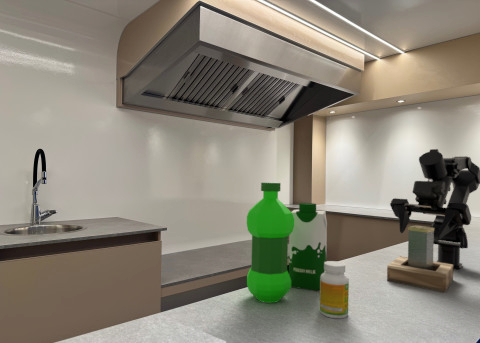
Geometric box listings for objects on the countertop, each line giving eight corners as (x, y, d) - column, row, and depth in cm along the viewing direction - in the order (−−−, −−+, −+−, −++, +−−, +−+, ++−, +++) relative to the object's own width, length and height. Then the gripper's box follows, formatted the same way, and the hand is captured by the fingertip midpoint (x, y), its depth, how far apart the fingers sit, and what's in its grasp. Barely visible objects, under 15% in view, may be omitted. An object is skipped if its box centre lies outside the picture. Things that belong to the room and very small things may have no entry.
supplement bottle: (349, 320, 62) (350, 268, 63) (319, 317, 64) (321, 266, 64) (346, 309, 68) (347, 261, 68) (319, 306, 69) (320, 259, 69)
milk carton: (285, 287, 80) (287, 203, 80) (292, 277, 88) (294, 200, 88) (323, 293, 77) (325, 205, 77) (327, 281, 85) (328, 202, 86)
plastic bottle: (300, 296, 74) (302, 183, 74) (275, 311, 66) (278, 183, 66) (262, 286, 80) (264, 181, 80) (235, 299, 72) (237, 182, 72)
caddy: (400, 270, 97) (400, 256, 97) (452, 279, 89) (453, 264, 89) (387, 280, 87) (387, 265, 87) (445, 292, 79) (445, 275, 79)
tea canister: (414, 273, 91) (415, 225, 91) (433, 277, 88) (434, 227, 88) (407, 276, 88) (408, 227, 88) (426, 281, 85) (427, 229, 85)
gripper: (393, 170, 98) (374, 210, 90) (468, 171, 84) (453, 218, 76) (404, 196, 103) (387, 236, 96) (477, 201, 89) (463, 248, 81)
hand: (419, 234), depth 87 cm, fingers open, 9 cm apart
